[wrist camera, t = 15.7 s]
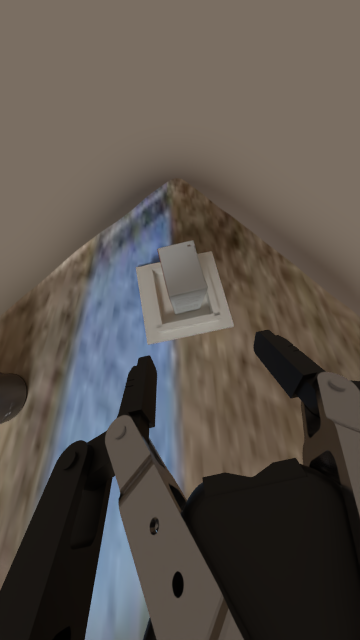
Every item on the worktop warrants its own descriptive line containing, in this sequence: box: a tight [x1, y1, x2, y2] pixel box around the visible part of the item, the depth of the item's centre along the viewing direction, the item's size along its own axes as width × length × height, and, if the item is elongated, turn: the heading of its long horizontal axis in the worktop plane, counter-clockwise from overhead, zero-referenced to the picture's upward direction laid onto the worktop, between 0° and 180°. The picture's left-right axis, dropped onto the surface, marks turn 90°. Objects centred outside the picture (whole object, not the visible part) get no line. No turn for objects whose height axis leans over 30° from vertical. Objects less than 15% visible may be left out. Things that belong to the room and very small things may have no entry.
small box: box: [158, 240, 208, 315], centre depth 23 cm, size 8×6×10 cm
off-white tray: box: [136, 251, 234, 345], centre depth 28 cm, size 18×18×4 cm
